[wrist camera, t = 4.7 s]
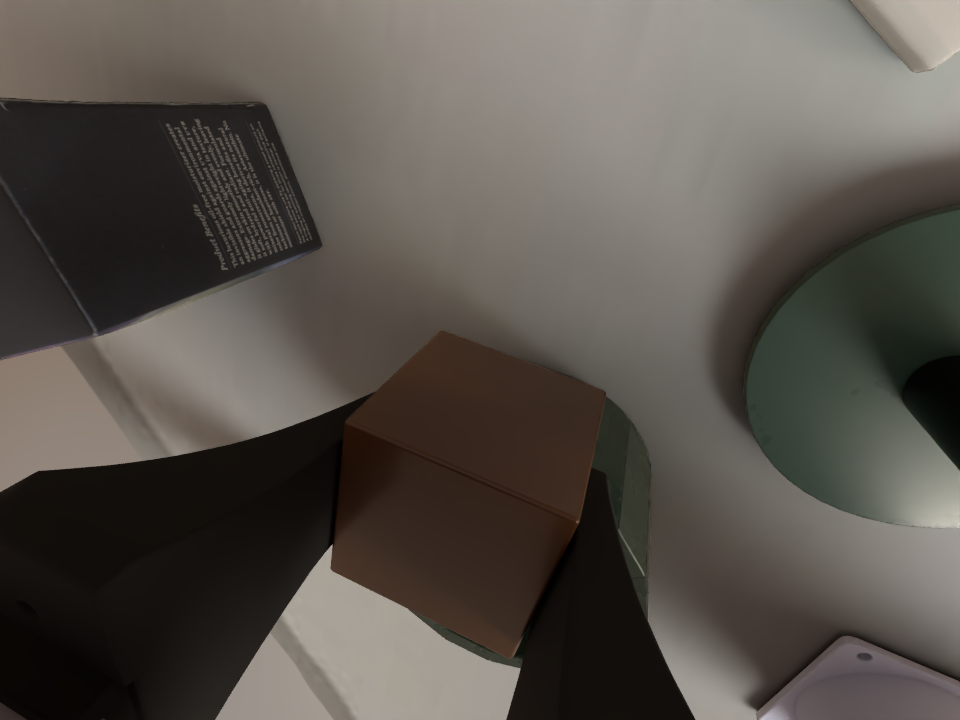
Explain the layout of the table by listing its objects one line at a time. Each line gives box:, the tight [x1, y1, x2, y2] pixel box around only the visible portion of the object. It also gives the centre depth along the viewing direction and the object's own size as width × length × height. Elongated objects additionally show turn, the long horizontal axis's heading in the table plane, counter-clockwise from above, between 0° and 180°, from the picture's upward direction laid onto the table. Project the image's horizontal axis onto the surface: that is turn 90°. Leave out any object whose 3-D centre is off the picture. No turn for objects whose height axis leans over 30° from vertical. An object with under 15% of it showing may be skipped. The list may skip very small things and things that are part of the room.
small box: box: [0, 98, 322, 360], centre depth 18 cm, size 11×6×10 cm, turn 107°
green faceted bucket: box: [409, 371, 651, 668], centre depth 20 cm, size 10×10×6 cm
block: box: [331, 331, 606, 659], centre depth 11 cm, size 4×4×4 cm
